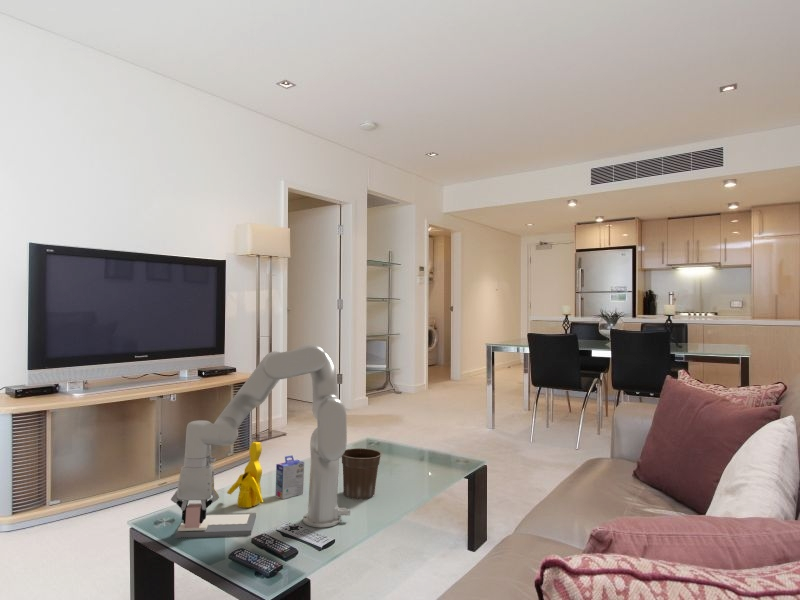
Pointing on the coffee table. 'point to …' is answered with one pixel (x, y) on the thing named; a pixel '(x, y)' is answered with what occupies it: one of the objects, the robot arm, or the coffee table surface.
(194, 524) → the stub
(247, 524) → the board
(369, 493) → the plant pot
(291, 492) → the ink cartridge box
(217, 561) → the coffee table surface
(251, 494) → the figure statuette
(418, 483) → the coffee table surface
